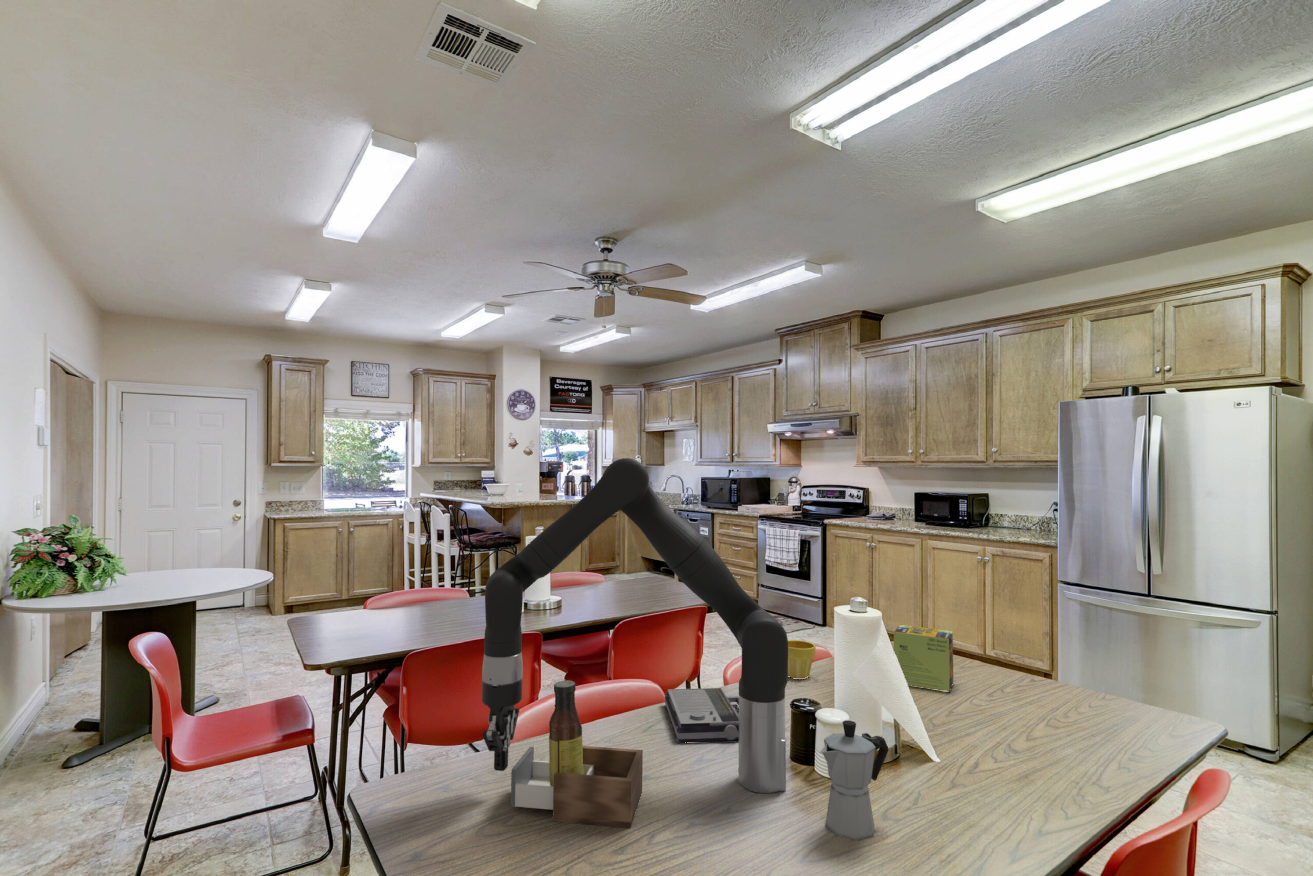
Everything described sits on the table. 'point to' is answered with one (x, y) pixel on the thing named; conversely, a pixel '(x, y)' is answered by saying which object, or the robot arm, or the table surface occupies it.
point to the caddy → (601, 789)
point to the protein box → (925, 656)
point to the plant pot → (800, 658)
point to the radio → (702, 715)
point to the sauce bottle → (565, 733)
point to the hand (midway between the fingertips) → (500, 769)
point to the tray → (534, 782)
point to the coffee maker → (852, 780)
